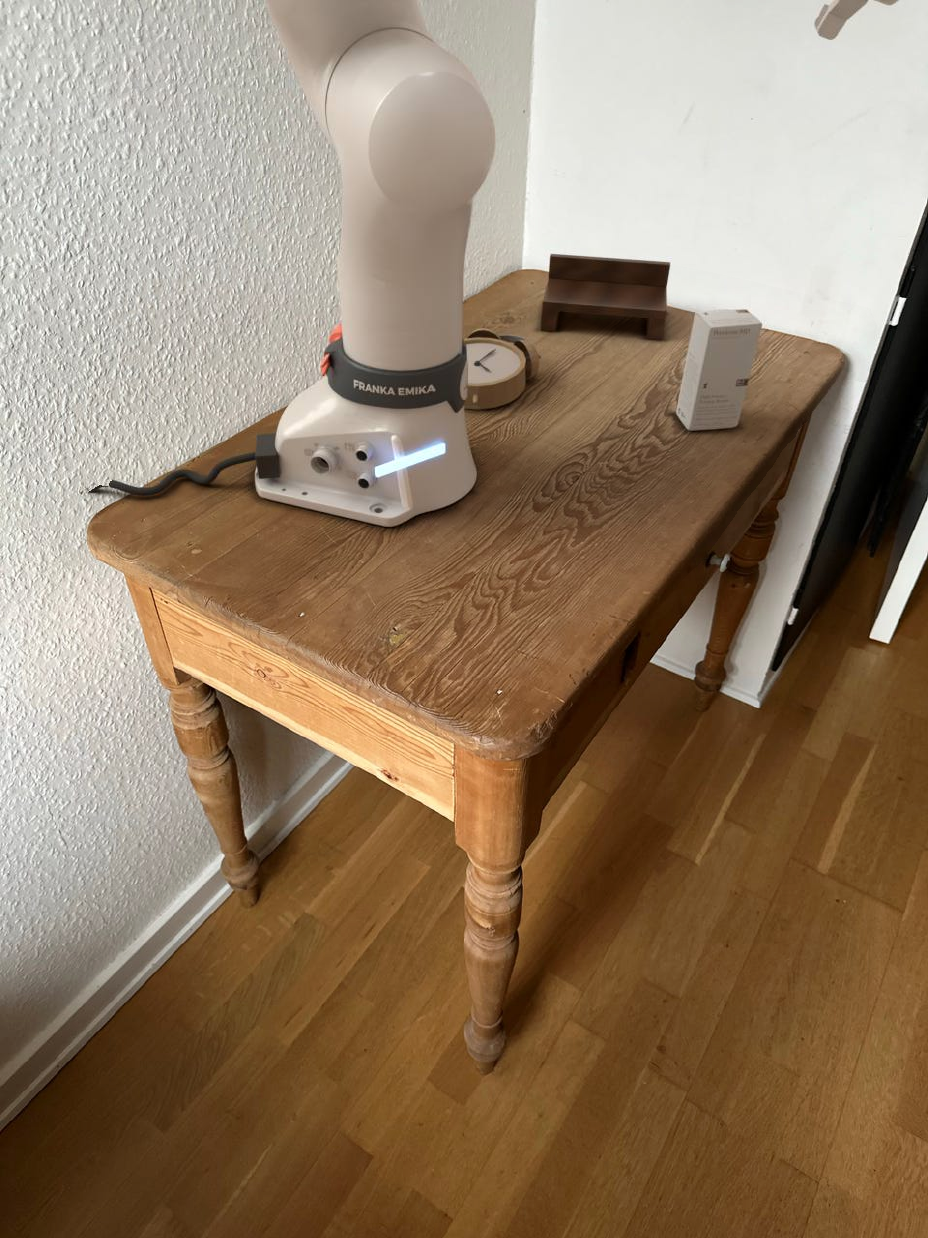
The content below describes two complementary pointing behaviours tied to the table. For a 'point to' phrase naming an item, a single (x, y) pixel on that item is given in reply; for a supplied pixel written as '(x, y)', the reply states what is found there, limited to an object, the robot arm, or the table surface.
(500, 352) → the alarm clock
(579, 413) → the table surface
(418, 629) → the table surface
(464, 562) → the table surface
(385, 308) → the robot arm
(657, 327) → the brown wooden bench
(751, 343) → the cosmetic box
